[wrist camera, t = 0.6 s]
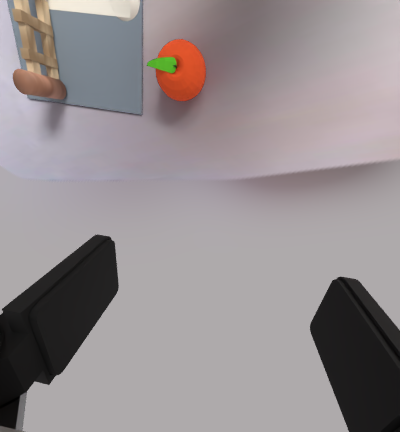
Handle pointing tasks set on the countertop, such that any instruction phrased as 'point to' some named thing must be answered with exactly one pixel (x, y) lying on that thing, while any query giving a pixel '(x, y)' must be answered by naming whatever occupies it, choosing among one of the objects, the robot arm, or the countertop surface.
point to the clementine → (180, 70)
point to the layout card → (94, 51)
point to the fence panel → (32, 79)
